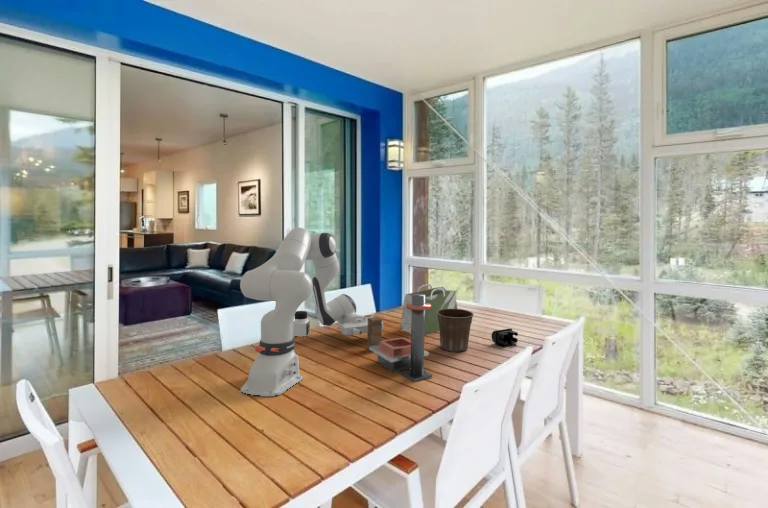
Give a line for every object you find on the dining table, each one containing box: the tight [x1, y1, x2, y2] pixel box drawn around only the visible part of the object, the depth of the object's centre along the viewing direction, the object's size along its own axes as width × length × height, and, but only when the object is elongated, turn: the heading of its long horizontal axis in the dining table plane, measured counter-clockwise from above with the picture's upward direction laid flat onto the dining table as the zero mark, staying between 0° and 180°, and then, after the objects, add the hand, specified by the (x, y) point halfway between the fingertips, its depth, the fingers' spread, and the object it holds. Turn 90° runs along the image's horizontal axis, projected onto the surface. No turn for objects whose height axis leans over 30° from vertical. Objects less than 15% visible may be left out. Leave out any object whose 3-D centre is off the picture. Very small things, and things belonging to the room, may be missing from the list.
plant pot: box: [437, 308, 474, 353], centre depth 179 cm, size 16×16×16 cm
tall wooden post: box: [366, 316, 383, 353], centre depth 175 cm, size 4×4×14 cm
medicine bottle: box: [293, 310, 311, 337], centre depth 196 cm, size 7×7×12 cm
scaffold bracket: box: [369, 294, 433, 382], centre depth 153 cm, size 26×17×30 cm, turn 30°
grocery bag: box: [399, 283, 458, 335], centre depth 211 cm, size 32×14×23 cm, turn 127°
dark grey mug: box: [490, 328, 519, 348], centre depth 186 cm, size 10×7×7 cm
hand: (369, 331), depth 179 cm, fingers open, 8 cm apart
